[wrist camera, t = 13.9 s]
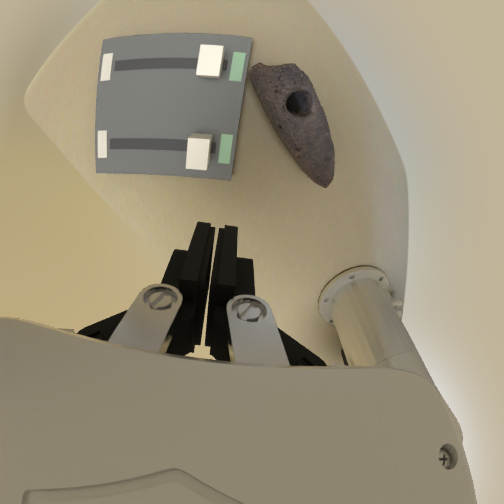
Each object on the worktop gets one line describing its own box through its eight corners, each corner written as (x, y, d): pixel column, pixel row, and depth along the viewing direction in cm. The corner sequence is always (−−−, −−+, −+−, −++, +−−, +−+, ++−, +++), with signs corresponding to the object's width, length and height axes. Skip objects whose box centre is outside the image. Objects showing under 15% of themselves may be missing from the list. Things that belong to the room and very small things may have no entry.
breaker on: (212, 134, 26) (209, 139, 23) (209, 162, 27) (206, 170, 25) (193, 133, 25) (188, 137, 23) (190, 160, 27) (185, 168, 24)
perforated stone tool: (336, 170, 31) (359, 190, 25) (297, 186, 32) (312, 210, 26) (287, 55, 23) (302, 45, 17) (243, 72, 24) (245, 66, 18)
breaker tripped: (224, 51, 21) (223, 45, 18) (220, 78, 22) (218, 76, 20) (204, 49, 21) (200, 44, 18) (200, 76, 22) (195, 74, 19)
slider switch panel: (251, 41, 22) (252, 37, 20) (231, 175, 31) (230, 181, 29) (110, 41, 20) (102, 39, 18) (103, 168, 29) (95, 173, 27)
